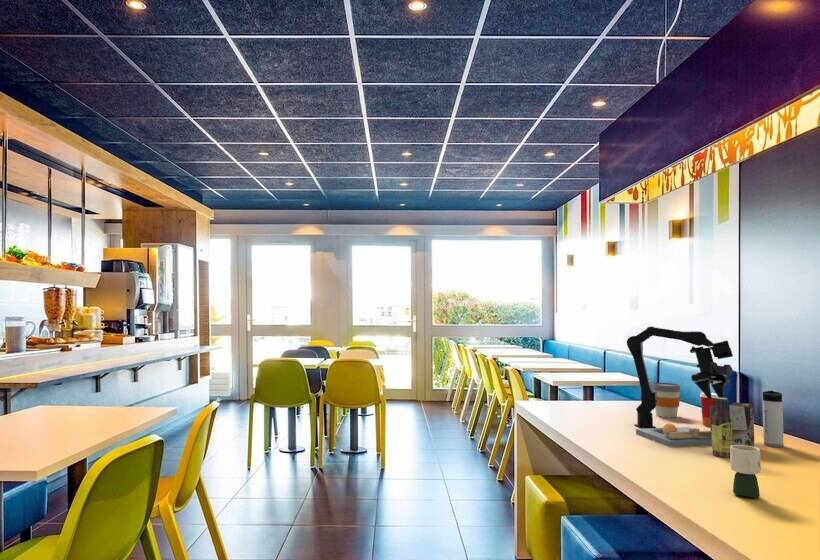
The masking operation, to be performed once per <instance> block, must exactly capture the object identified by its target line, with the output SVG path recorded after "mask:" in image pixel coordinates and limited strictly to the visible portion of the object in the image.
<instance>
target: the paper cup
mask: <svg viewBox="0 0 820 560" xmlns="http://www.w3.org/2000/svg"><path fill="white" fill-rule="evenodd" d="M699 397H700V406H701V407H700V408H701V418H702V419H701V420H702V425H704V426H705V427H707V426H708V428H711V425H710V407H711V406H714V407H716V402H715V398H719V397H718V395H717V394H716V392H711V397H712V398H711V399H708V397H707V396H706V395H705V394H704V393H703V392H700V395H699ZM704 426H703V427H704Z"/></svg>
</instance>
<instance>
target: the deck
mask: <svg viewBox="0 0 820 560" xmlns="http://www.w3.org/2000/svg"><path fill="white" fill-rule="evenodd" d="M675 427H676V426H675ZM676 428H677V432H682V431H689V428H691V427H690V426H683V427H682V426H681V427H679V426H677V427H676ZM699 431H701V430H700V429H699ZM635 434H636V435H638V436H640V435H641V436H640V437H643V438H645V437H646V439H648V440H650V439H651V440H650V441H653V440H654V442H656V443H658V442H659V444H661V443H662V444H661V445H663V444H664V445H663V446H666V445H667V446H666V447H669V446H680V447H697V446H699V447H700V446H712V437H700V438H674V439H671V438H668V436H666V435H665V434H664V433H663V427H658V428H657V427H656V428H636V429H635Z"/></svg>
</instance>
